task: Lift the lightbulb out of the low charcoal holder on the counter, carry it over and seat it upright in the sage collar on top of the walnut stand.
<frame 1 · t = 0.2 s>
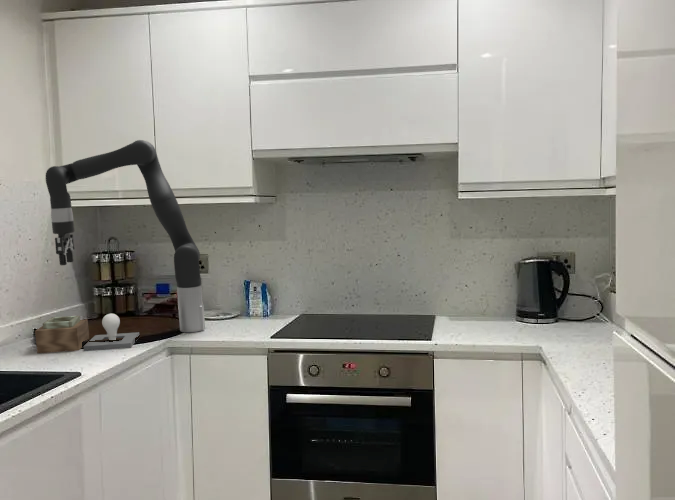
hand: (66, 263, 243), 29 cm above the worktop, tool pointing down, fingers open, 8 cm apart
lightbulb: (112, 343, 236), resting in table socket
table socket: (112, 343, 236), on the worktop
raised socket: (64, 346, 234), on the worktop
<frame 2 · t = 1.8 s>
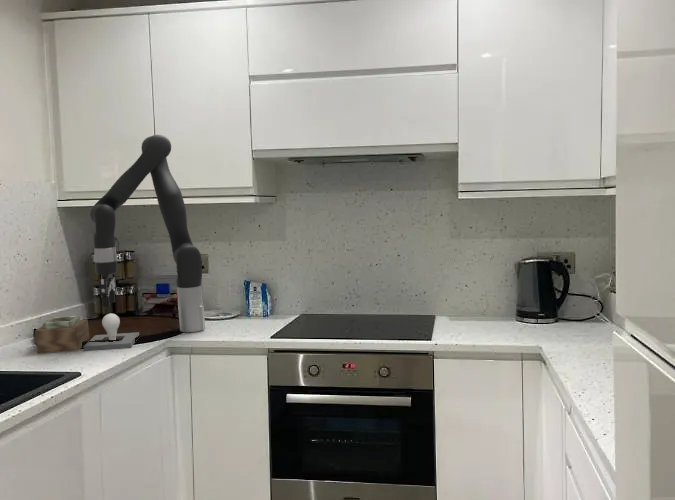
hand: (109, 304, 234), 14 cm above the worktop, tool pointing down, fingers open, 8 cm apart
nothing on the worktop moved.
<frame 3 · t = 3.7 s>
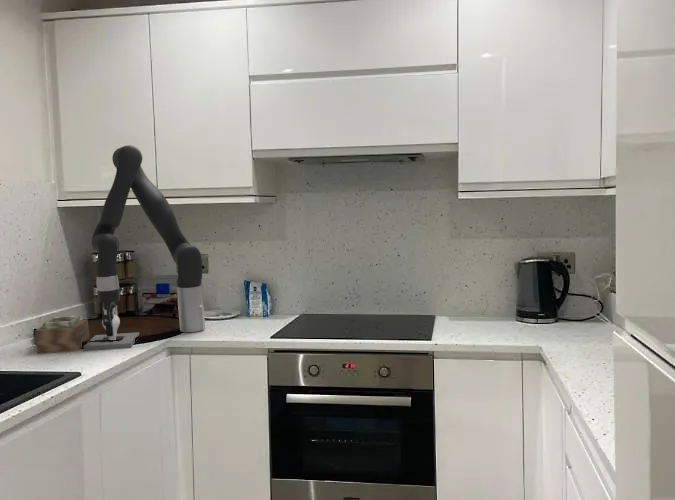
hand: (112, 333, 236), 4 cm above the worktop, tool pointing down, fingers closed on lightbulb, 5 cm apart
lightbulb: (112, 343, 236), resting in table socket, touching gripper
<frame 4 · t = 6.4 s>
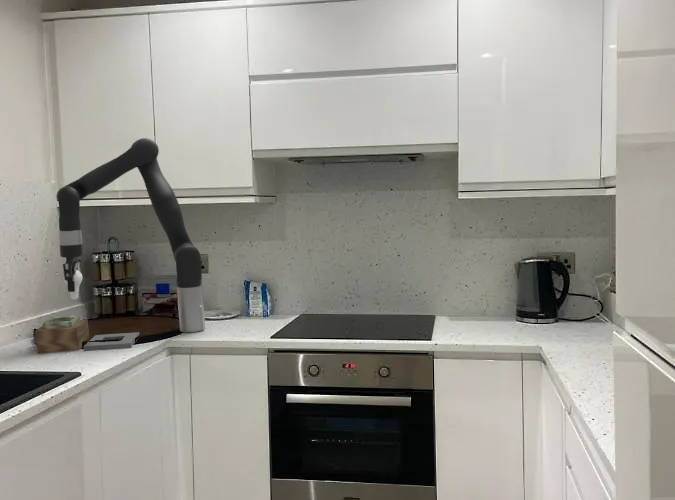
hand: (74, 290, 232), 20 cm above the worktop, tool pointing down, fingers closed on lightbulb, 5 cm apart
lightbulb: (74, 300, 233), point 17 cm above the worktop, touching gripper
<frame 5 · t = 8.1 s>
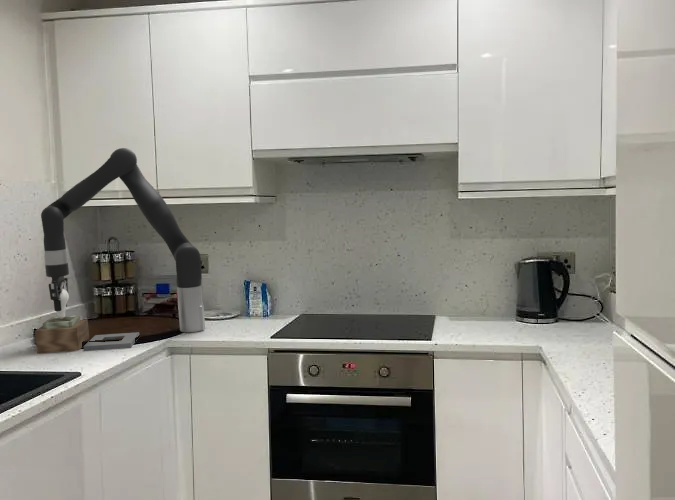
hand: (60, 309, 233), 14 cm above the worktop, tool pointing down, fingers closed on lightbulb, 5 cm apart
lightbulb: (61, 319, 233), point 10 cm above the worktop, touching gripper
when the fingers open (13 cm above the worktop, at t = 9.3 s): lightbulb drops 1 cm, resting on raised socket.
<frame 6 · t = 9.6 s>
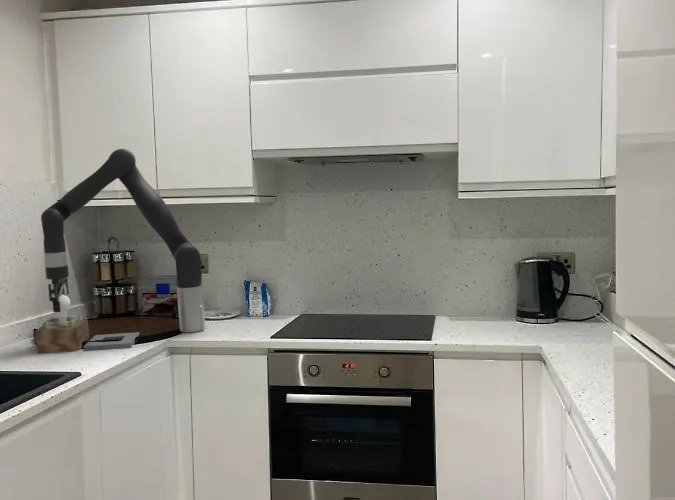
hand: (60, 309, 233), 14 cm above the worktop, tool pointing down, fingers open, 8 cm apart
lightbulb: (63, 325, 234), point 8 cm above the worktop, touching raised socket
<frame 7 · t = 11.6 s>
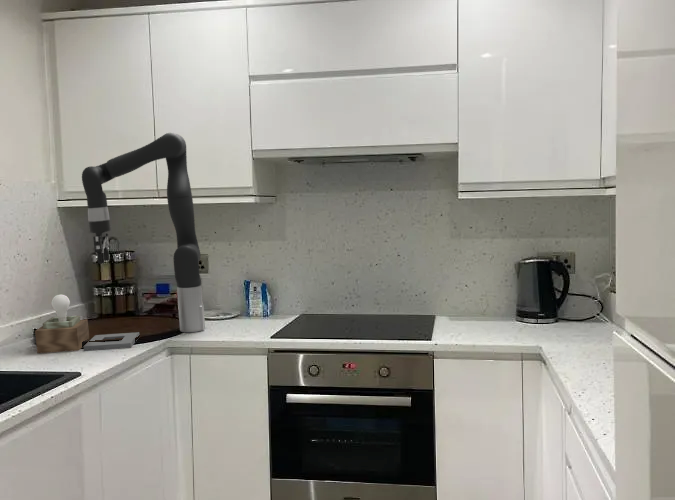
hand: (103, 261, 248), 28 cm above the worktop, tool pointing down, fingers open, 8 cm apart
nothing on the worktop moved.
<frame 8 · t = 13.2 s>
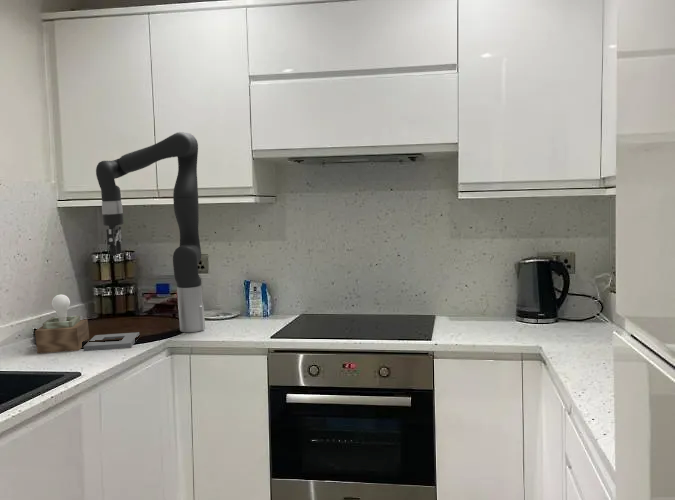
hand: (116, 254, 253), 30 cm above the worktop, tool pointing down, fingers open, 8 cm apart
nothing on the worktop moved.
at the end: lightbulb 0.4 cm off-centre on the raised socket, point 7.8 cm above the raised socket's base; lightbulb tilted 0°; the gripper is holding nothing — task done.
